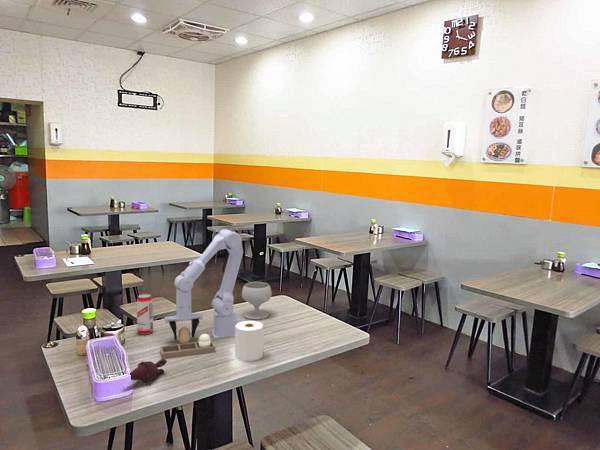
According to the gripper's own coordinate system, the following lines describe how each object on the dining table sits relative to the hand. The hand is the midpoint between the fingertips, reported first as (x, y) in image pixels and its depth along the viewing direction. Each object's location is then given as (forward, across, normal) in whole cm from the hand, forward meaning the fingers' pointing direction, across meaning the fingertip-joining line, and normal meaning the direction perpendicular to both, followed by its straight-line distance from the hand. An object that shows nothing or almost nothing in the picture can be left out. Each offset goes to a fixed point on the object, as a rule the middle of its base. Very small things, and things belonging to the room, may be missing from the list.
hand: (184, 338), depth 175 cm
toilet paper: (+2, -21, +21) cm, 30 cm away
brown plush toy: (+2, +16, +29) cm, 33 cm away
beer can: (+2, +14, -15) cm, 21 cm away
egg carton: (+2, 0, +11) cm, 11 cm away
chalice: (+2, -36, -21) cm, 42 cm away
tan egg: (+2, 0, 0) cm, 2 cm away
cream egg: (+1, -6, +11) cm, 13 cm away
